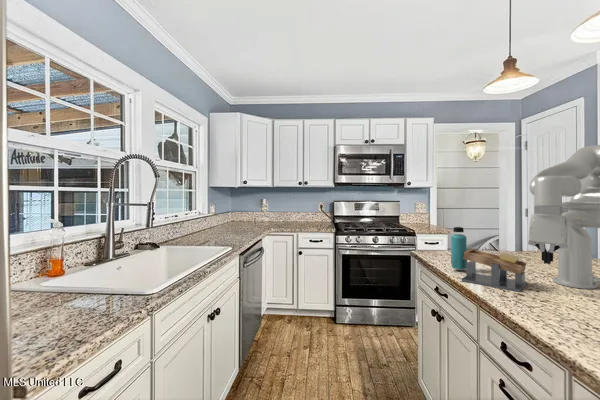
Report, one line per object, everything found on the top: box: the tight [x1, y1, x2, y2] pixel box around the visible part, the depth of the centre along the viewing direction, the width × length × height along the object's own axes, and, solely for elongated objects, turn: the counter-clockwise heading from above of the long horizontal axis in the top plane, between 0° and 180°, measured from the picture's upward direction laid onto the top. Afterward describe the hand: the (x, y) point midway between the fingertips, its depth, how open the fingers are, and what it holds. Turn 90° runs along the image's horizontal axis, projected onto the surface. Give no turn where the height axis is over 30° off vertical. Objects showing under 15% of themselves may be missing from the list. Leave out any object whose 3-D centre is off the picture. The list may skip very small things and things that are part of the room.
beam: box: [463, 248, 527, 274], centre depth 115 cm, size 19×8×3 cm, turn 43°
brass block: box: [499, 252, 520, 265], centre depth 112 cm, size 5×5×3 cm
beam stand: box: [461, 260, 528, 293], centre depth 116 cm, size 19×13×9 cm
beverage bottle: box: [450, 226, 468, 270], centre depth 134 cm, size 6×7×20 cm
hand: (547, 263), depth 103 cm, fingers closed
